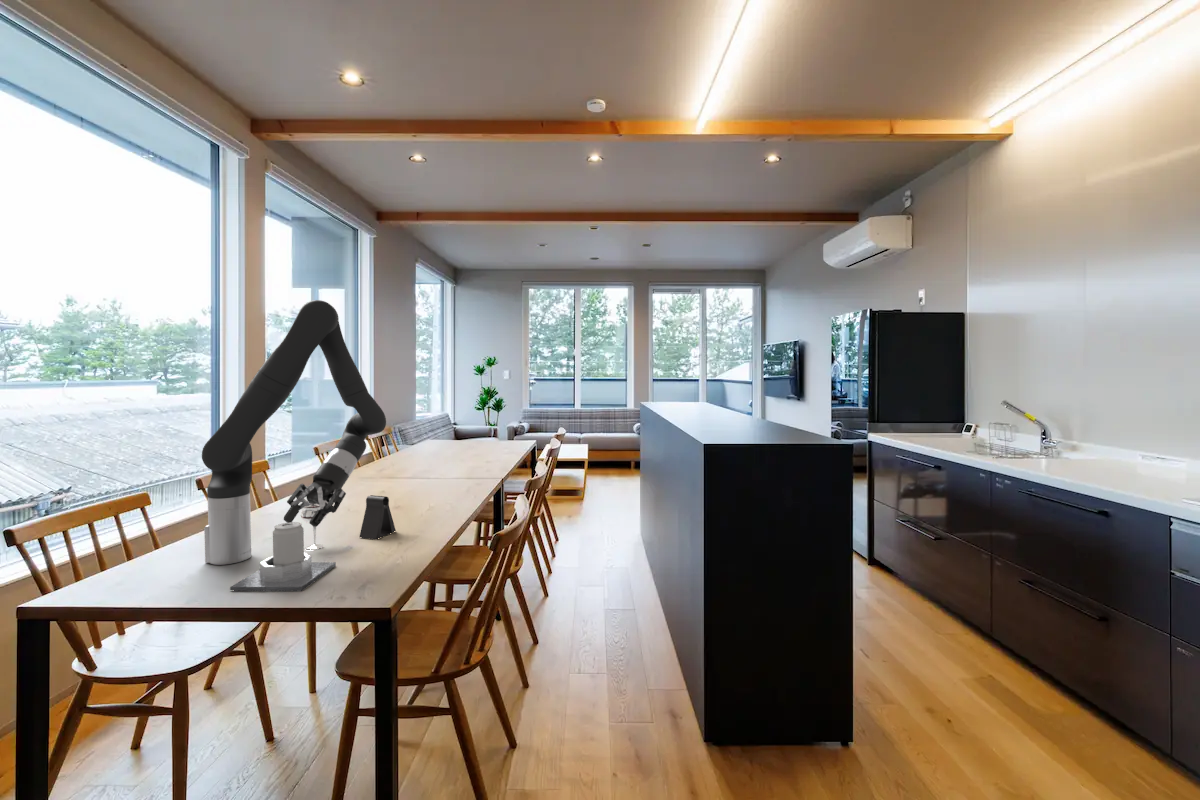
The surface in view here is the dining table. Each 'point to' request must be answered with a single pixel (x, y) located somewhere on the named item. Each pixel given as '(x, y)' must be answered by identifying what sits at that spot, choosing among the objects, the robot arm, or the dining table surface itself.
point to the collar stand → (284, 576)
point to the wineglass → (307, 516)
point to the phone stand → (377, 518)
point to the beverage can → (288, 543)
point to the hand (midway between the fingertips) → (299, 523)
